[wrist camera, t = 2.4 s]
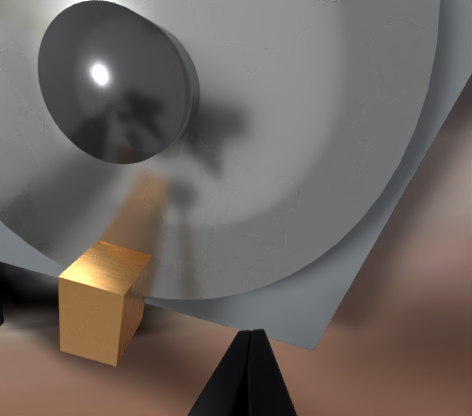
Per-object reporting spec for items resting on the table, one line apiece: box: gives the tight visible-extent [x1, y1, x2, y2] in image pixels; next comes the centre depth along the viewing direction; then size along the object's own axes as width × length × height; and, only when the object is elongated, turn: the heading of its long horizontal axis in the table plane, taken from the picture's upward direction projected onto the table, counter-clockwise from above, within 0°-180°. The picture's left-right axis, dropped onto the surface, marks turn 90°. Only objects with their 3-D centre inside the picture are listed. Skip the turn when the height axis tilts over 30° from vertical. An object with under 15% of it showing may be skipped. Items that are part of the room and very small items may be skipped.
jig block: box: [0, 0, 472, 351], centre depth 12 cm, size 23×23×4 cm
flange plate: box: [0, 0, 440, 366], centre depth 9 cm, size 20×18×4 cm
